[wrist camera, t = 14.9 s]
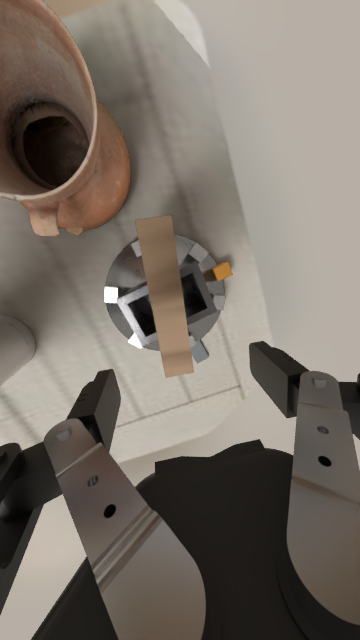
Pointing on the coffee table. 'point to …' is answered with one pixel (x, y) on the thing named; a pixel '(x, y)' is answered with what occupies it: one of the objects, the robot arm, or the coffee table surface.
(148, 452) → the coffee table surface
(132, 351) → the coffee table surface
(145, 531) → the robot arm
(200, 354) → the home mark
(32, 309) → the coffee table surface
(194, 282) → the grey disc
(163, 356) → the brown wooden block
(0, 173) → the ceramic jug
